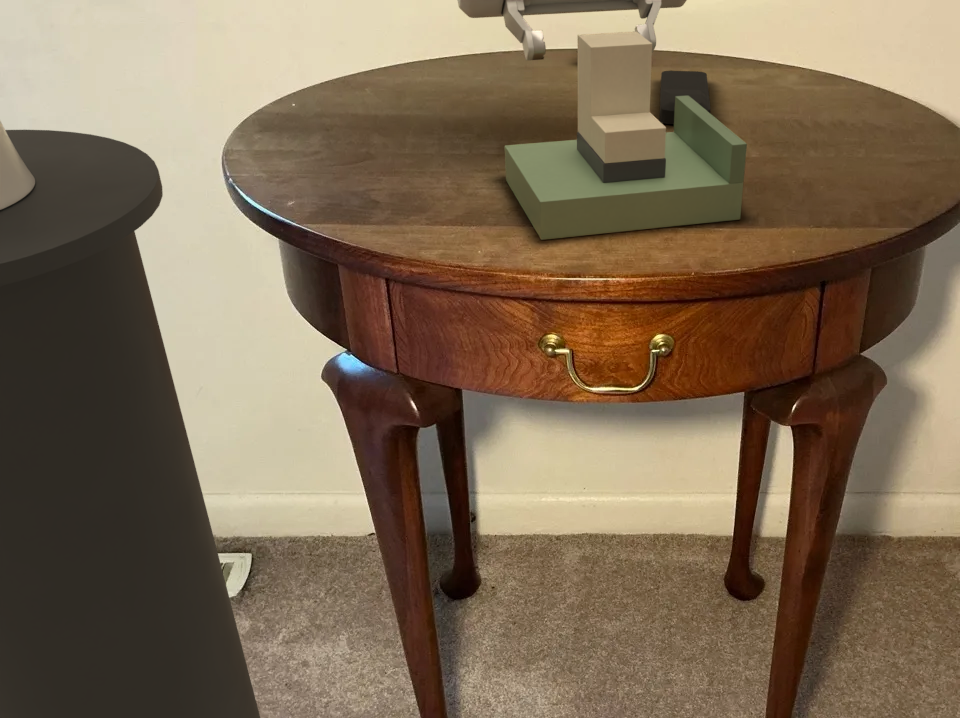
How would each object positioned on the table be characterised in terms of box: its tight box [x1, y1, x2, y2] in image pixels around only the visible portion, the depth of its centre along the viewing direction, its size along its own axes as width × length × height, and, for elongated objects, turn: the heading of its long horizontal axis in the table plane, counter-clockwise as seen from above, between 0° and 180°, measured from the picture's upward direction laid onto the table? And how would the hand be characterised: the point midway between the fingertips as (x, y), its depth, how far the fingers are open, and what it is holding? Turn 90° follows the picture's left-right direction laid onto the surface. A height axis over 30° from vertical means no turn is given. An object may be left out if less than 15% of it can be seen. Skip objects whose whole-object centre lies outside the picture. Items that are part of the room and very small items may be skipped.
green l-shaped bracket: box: [504, 96, 748, 241], centre depth 84 cm, size 16×13×6 cm
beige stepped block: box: [576, 30, 667, 183], centre depth 81 cm, size 8×5×9 cm, turn 16°
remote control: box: [659, 70, 712, 125], centre depth 107 cm, size 5×2×15 cm
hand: (591, 53), depth 87 cm, fingers open, 8 cm apart
